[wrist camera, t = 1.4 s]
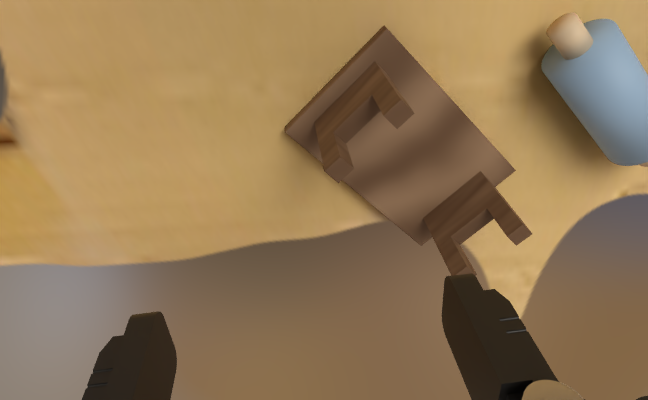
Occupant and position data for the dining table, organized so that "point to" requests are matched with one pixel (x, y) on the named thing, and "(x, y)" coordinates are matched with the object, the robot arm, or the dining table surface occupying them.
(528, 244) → the dining table surface
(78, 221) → the dining table surface
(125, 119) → the dining table surface
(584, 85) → the towel roll
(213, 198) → the dining table surface
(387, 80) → the roll holder
